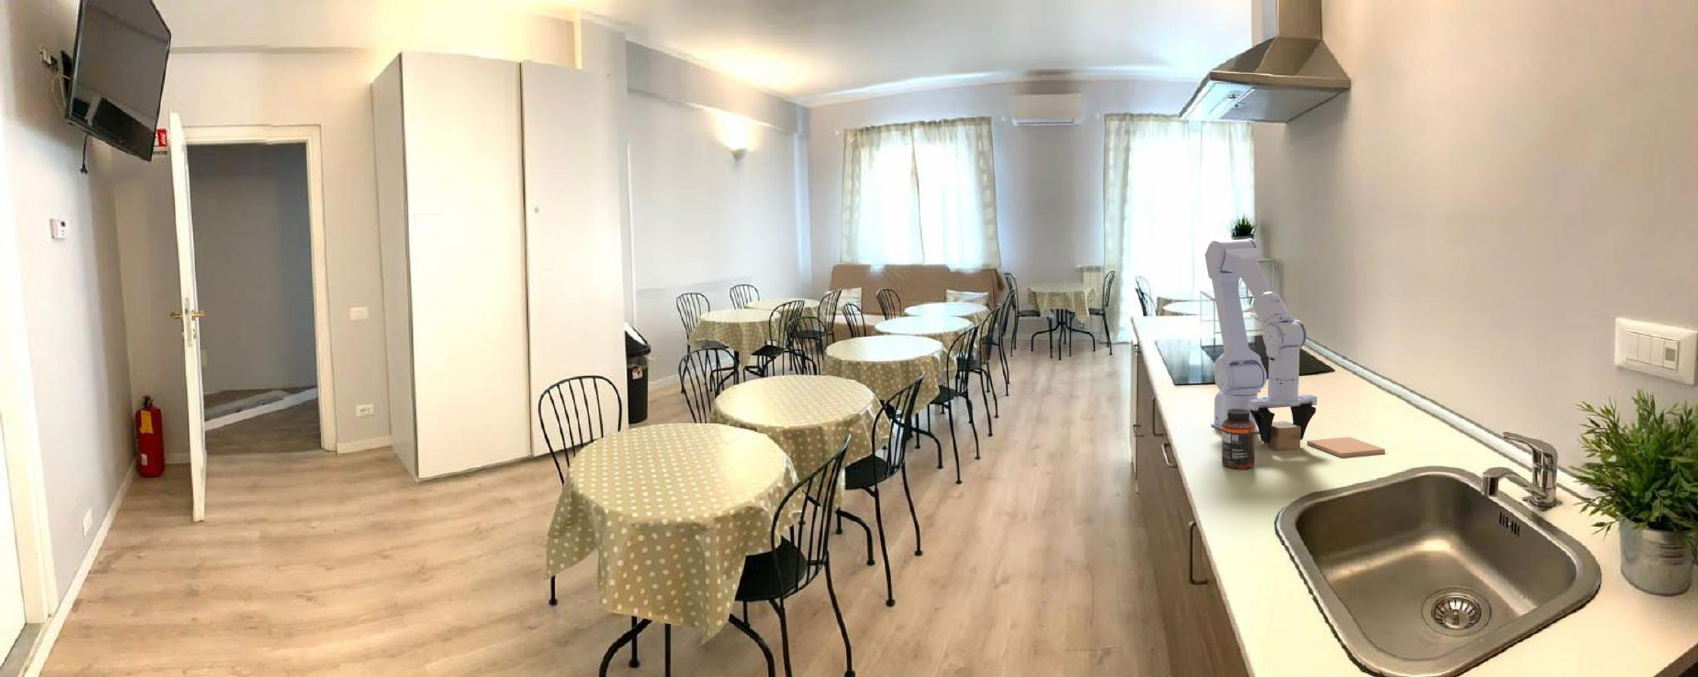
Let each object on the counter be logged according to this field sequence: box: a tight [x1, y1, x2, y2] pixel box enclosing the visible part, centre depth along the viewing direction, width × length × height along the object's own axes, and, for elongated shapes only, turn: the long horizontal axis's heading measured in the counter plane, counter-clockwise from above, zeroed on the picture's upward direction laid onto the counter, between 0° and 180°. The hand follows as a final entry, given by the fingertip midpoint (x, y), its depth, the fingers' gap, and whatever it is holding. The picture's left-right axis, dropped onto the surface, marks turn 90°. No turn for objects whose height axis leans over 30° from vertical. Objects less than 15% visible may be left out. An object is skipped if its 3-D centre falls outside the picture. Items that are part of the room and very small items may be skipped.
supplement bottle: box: [1221, 409, 1256, 470], centre depth 167 cm, size 6×6×11 cm
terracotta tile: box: [1306, 436, 1386, 458], centre depth 175 cm, size 10×10×1 cm
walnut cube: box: [1263, 420, 1301, 452], centre depth 178 cm, size 5×5×5 cm
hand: (1281, 440), depth 178 cm, fingers open, 7 cm apart
